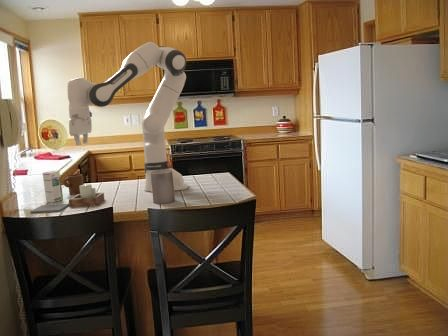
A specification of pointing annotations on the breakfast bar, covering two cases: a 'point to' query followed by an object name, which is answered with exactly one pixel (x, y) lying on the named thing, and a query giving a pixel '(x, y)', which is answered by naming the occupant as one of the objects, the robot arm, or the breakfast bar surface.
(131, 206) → the breakfast bar surface
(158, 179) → the pillar candle
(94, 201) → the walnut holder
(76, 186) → the mug
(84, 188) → the jug
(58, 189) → the syrup box
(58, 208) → the charcoal mat
